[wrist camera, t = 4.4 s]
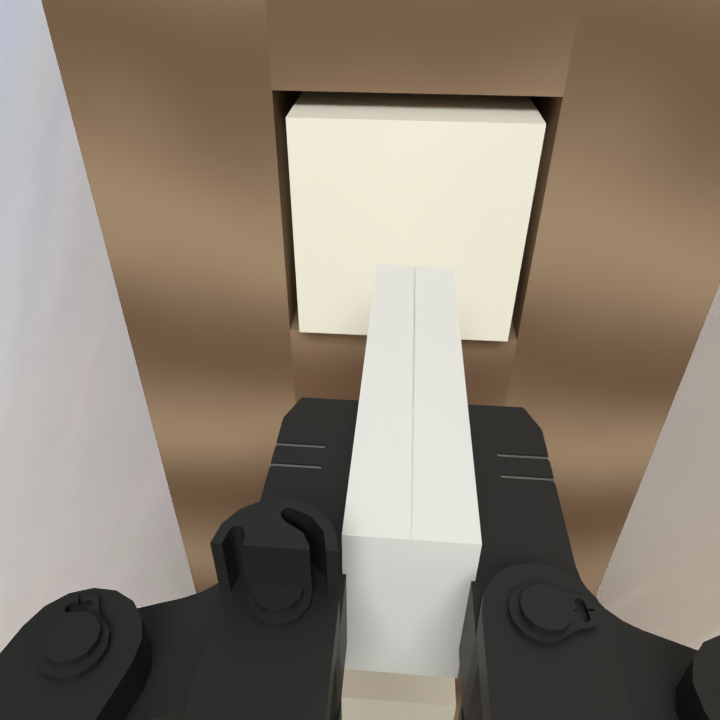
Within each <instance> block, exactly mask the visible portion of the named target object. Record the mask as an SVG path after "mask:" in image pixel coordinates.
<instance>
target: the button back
mask: <svg viewBox="0 0 720 720" xmlns="http://www.w3.org/2000/svg"><path fill="white" fill-rule="evenodd" d="M341 701H342V720H454V715H455V710H456V693H455V678H448V677H436V676H424V675H412V674H399V673H387V672H375V671H363V670H351V669H344V677H343V687H342V697H341Z"/></svg>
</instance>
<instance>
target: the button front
mask: <svg viewBox="0 0 720 720" xmlns="http://www.w3.org/2000/svg"><path fill="white" fill-rule="evenodd" d="M545 128H546V123H545V121H544V120H543V118H542V116H541V115H540V113H539V112H538V110H537V108H536V107H535V105H534V103H533V102H532V100H531V99H530V97H529V96H504V95H459V94H414V93H369V92H325V91H302V93H301V95H300V96H299V98H298V99H297V101H296V102H295V104H294V105H293V107H292V108H291V110H290V112H289V113H288V115H287V116H286V131H287V146H288V162H289V177H290V193H291V208H292V224H293V240H294V255H295V271H296V286H297V302H298V317H299V332H308V333H331V334H353V335H368V327H369V319H370V312H371V304H372V296H373V288H374V281H375V273H376V265H400V266H424V267H449V268H454V276H455V286H456V296H457V305H458V315H459V325H460V335H461V339H464V340H486V341H508V337H509V331H510V326H511V320H512V314H513V309H514V303H515V297H516V292H517V286H518V280H519V275H520V269H521V264H522V258H523V252H524V247H525V241H526V235H527V230H528V224H529V219H530V213H531V207H532V202H533V196H534V190H535V185H536V179H537V173H538V168H539V162H540V157H541V151H542V145H543V140H544V134H545Z"/></svg>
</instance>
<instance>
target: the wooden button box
mask: <svg viewBox="0 0 720 720" xmlns="http://www.w3.org/2000/svg"><path fill="white" fill-rule="evenodd" d="M42 4H43V8H44V12H45V16H46V20H47V23H48V27H49V31H50V35H51V39H52V42H53V46H54V50H55V54H56V58H57V62H58V65H59V69H60V73H61V77H62V81H63V85H64V88H65V92H66V96H67V100H68V104H69V107H70V111H71V115H72V119H73V123H74V127H75V130H76V134H77V138H78V142H79V146H80V150H81V153H82V157H83V161H84V165H85V169H86V172H87V176H88V180H89V184H90V188H91V192H92V195H93V199H94V203H95V207H96V211H97V215H98V218H99V222H100V226H101V230H102V234H103V237H104V241H105V245H106V249H107V253H108V257H109V260H110V264H111V268H112V272H113V276H114V280H115V283H116V287H117V291H118V295H119V299H120V302H121V306H122V310H123V314H124V318H125V322H126V325H127V329H128V333H129V337H130V341H131V345H132V348H133V352H134V356H135V360H136V364H137V367H138V371H139V375H140V379H141V383H142V387H143V390H144V394H145V398H146V402H147V406H148V410H149V413H150V417H151V421H152V425H153V429H154V432H155V436H156V440H157V444H158V448H159V452H160V455H161V459H162V463H163V467H164V471H165V475H166V478H167V482H168V486H169V490H170V494H171V497H172V501H173V505H174V509H175V513H176V517H177V520H178V524H179V528H180V532H181V536H182V540H183V543H184V547H185V551H186V555H187V559H188V562H189V566H190V570H191V574H192V578H193V582H194V585H195V589H196V593H200V592H203V591H204V590H206V589H208V588H210V587H212V586H213V585H215V584H217V583H218V579H217V574H216V569H215V565H214V560H213V555H212V550H211V545H210V542H211V541H212V539H213V537H214V535H215V534H216V532H217V530H218V529H219V527H220V525H221V524H222V523H223V522H224V521H226V520H227V519H228V518H229V517H230V516H232V515H233V514H234V513H235V512H237V511H238V510H239V509H241V508H244V507H246V506H249V505H251V504H254V503H256V502H259V501H260V499H261V495H262V492H263V488H264V485H265V481H266V477H267V474H268V470H269V467H271V460H272V456H273V453H274V449H275V447H276V444H277V438H278V435H279V431H280V428H281V424H282V420H283V417H284V416H285V415H286V414H287V413H288V412H289V411H290V410H291V409H292V407H293V406H294V405H295V404H296V403H297V402H298V401H299V400H300V399H301V398H302V397H305V398H323V399H342V400H359V397H360V389H361V382H362V374H363V366H364V358H365V351H366V343H367V335H353V334H331V333H308V332H299V317H298V302H297V286H296V271H295V255H294V240H293V224H292V208H291V193H290V177H289V162H288V146H287V131H286V116H287V115H288V113H289V112H290V110H291V108H292V107H293V105H294V104H295V102H296V101H297V99H298V98H299V96H300V95H301V93H302V91H325V92H369V93H414V94H459V95H504V96H529V97H530V99H531V100H532V102H533V103H534V105H535V107H536V108H537V110H538V112H539V113H540V115H541V116H542V118H543V120H544V121H545V123H546V128H545V134H544V140H543V145H542V151H541V157H540V162H539V168H538V173H537V179H536V185H535V190H534V196H533V202H532V207H531V213H530V219H529V224H528V230H527V235H526V241H525V247H524V252H523V258H522V264H521V269H520V275H519V280H518V286H517V292H516V297H515V303H514V309H513V314H512V320H511V326H510V331H509V337H508V341H486V340H464V339H461V344H462V354H463V364H464V374H465V383H466V393H467V403H468V404H471V405H489V406H508V407H523V408H524V409H525V410H526V411H527V412H528V414H529V415H530V416H531V417H532V418H533V420H534V421H535V422H536V423H537V424H538V426H539V427H540V428H541V429H542V432H543V436H544V440H545V444H546V448H547V452H548V461H550V464H551V468H552V472H553V476H554V479H553V481H554V483H555V484H556V488H557V492H558V496H559V501H560V505H561V509H562V513H563V517H564V521H565V525H566V529H567V533H568V537H569V541H570V545H571V549H572V553H573V557H574V561H575V565H576V568H577V570H578V573H579V576H580V578H581V580H582V582H583V583H584V585H585V586H586V588H587V589H588V590H589V591H590V592H591V593H592V594H593V595H594V596H596V593H597V591H598V588H599V586H600V583H601V581H602V578H603V576H604V573H605V571H606V568H607V566H608V563H609V561H610V558H611V556H612V553H613V551H614V548H615V546H616V543H617V541H618V538H619V536H620V533H621V531H622V528H623V526H624V523H625V521H626V518H627V516H628V513H629V510H630V508H631V505H632V503H633V500H634V498H635V495H636V493H637V490H638V488H639V485H640V483H641V480H642V478H643V475H644V473H645V470H646V468H647V465H648V463H649V460H650V458H651V455H652V453H653V450H654V448H655V445H656V443H657V440H658V438H659V435H660V433H661V430H662V427H663V425H664V422H665V420H666V417H667V415H668V412H669V410H670V407H671V405H672V402H673V400H674V397H675V395H676V392H677V390H678V387H679V385H680V382H681V380H682V377H683V375H684V372H685V370H686V367H687V365H688V362H689V360H690V357H691V355H692V352H693V350H694V347H695V344H696V342H697V339H698V337H699V334H700V332H701V329H702V327H703V324H704V322H705V319H706V317H707V314H708V312H709V309H710V307H711V304H712V302H713V299H714V297H715V294H716V292H717V289H718V287H719V284H720V0H42ZM455 693H456V710H455V715H454V720H458V717H459V712H460V707H461V702H462V699H461V681H460V665H459V671H458V676H457V678H455Z"/></svg>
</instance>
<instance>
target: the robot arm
mask: <svg viewBox="0 0 720 720" xmlns="http://www.w3.org/2000/svg"><path fill="white" fill-rule="evenodd" d="M553 479H554V476H553V472H552V468H551V464H550V461H548V452H547V448H546V444H545V440H544V436H543V432H542V429H541V428H540V427H539V426H538V424H537V423H536V422H535V421H534V420H533V418H532V417H531V416H530V415H529V414H528V412H527V411H526V410H525V409H524V408H523V407H508V406H489V405H471V404H468V403H467V393H466V383H465V374H464V364H463V354H462V344H461V335H460V325H459V315H458V305H457V296H456V286H455V276H454V268H449V267H424V266H400V265H376V273H375V281H374V288H373V296H372V304H371V312H370V319H369V327H368V335H367V343H366V351H365V358H364V366H363V374H362V382H361V389H360V397H359V400H342V399H323V398H305V397H302V398H301V399H300V400H299V401H298V402H297V403H296V404H295V405H294V406H293V407H292V409H291V410H290V411H289V412H288V413H287V414H286V415H285V416H284V417H283V420H282V424H281V428H280V431H279V435H278V438H277V444H276V447H275V449H274V453H273V456H272V460H271V467H269V470H268V474H267V477H266V481H265V485H264V488H263V492H262V495H261V499H260V501H259V502H256V503H254V504H251V505H249V506H246V507H244V508H241V509H239V510H238V511H237V512H235V513H234V514H233V515H232V516H230V517H229V518H228V519H227V520H226V521H224V522H223V523H222V524H221V525H220V527H219V529H218V530H217V532H216V534H215V535H214V537H213V539H212V541H211V542H210V545H211V550H212V555H213V560H214V565H215V569H216V574H217V579H218V583H217V584H215V585H213V586H212V587H210V588H208V589H206V590H204V591H203V592H200V593H197V594H194V595H191V596H188V597H185V598H181V599H177V600H172V601H168V602H164V603H159V604H155V605H150V606H146V607H142V608H136V606H135V604H134V602H133V601H132V600H131V599H129V598H127V597H126V596H124V595H122V594H121V593H119V592H118V591H116V590H107V589H98V588H92V589H87V590H83V591H78V592H73V593H69V594H67V595H65V596H63V597H61V598H60V599H58V600H56V601H54V602H52V603H50V604H48V605H46V606H44V607H43V608H42V609H41V610H40V611H39V612H38V613H37V614H36V615H35V616H34V617H32V618H31V619H30V620H29V621H28V622H27V623H26V624H25V625H24V626H23V627H22V628H21V629H20V630H19V632H18V633H17V634H16V635H15V636H14V638H13V639H12V640H11V641H10V642H9V643H8V645H7V646H6V647H5V648H4V649H3V651H2V652H1V653H0V720H342V701H341V697H342V687H343V677H344V669H351V670H363V671H375V672H387V673H399V674H412V675H424V676H436V677H448V678H457V676H458V671H459V665H460V681H461V699H462V702H461V707H460V712H459V717H458V720H720V636H717V637H715V638H712V639H710V640H708V641H705V642H704V643H703V644H702V646H701V647H700V649H699V650H698V651H697V650H695V649H692V648H689V647H686V646H684V645H681V644H678V643H676V642H673V641H670V640H667V639H665V638H662V637H659V636H657V635H654V634H651V633H648V632H646V631H643V630H641V629H639V628H636V627H634V626H632V625H630V624H628V623H626V622H624V621H622V620H621V619H619V618H618V617H616V616H615V615H613V614H612V613H611V612H609V611H608V610H606V609H605V608H604V607H603V606H602V605H601V604H600V603H599V602H598V600H597V598H596V597H595V596H594V595H593V594H592V593H591V592H590V591H589V590H588V589H587V588H586V586H585V585H584V583H583V582H582V580H581V578H580V576H579V573H578V570H577V568H576V565H575V561H574V557H573V553H572V549H571V545H570V541H569V537H568V533H567V529H566V525H565V521H564V517H563V513H562V509H561V505H560V501H559V496H558V492H557V488H556V484H555V483H554V481H553Z"/></svg>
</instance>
